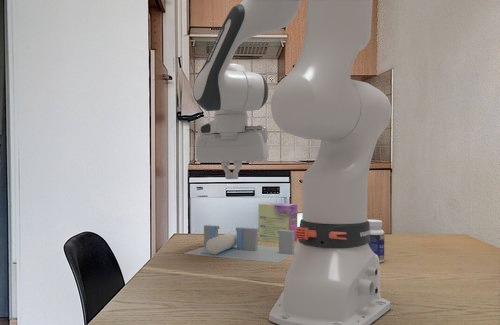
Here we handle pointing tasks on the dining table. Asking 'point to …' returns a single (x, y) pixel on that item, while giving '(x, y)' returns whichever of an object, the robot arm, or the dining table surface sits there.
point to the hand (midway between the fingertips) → (231, 179)
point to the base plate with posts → (250, 245)
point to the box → (276, 220)
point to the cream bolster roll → (221, 243)
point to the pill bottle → (377, 239)
